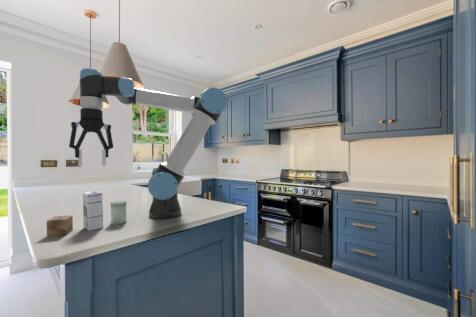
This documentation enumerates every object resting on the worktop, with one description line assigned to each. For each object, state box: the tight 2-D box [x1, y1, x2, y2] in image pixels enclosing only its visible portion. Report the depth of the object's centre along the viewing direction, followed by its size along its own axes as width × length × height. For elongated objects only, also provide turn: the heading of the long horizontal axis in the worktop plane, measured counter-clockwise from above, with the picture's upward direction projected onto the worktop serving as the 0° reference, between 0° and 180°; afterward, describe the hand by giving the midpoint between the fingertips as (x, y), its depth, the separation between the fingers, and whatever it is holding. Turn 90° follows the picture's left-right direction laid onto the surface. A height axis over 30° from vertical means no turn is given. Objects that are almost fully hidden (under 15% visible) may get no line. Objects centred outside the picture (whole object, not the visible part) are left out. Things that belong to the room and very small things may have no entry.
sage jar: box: [109, 200, 128, 225], centre depth 101 cm, size 6×6×9 cm
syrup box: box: [82, 190, 104, 231], centre depth 94 cm, size 6×6×14 cm
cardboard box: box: [46, 215, 74, 238], centre depth 87 cm, size 6×6×6 cm
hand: (92, 165), depth 93 cm, fingers open, 8 cm apart
